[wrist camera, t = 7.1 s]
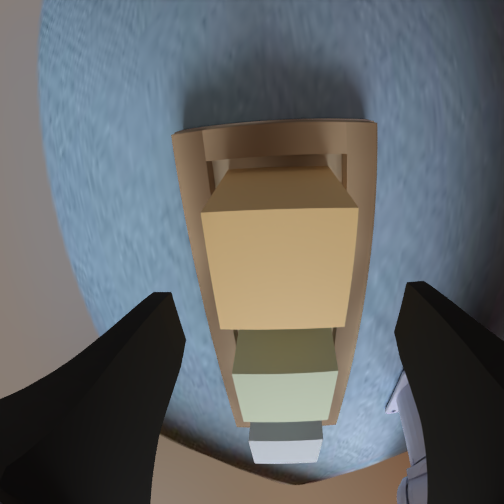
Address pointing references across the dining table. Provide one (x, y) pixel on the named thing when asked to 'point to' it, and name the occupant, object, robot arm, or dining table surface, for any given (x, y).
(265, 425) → the blue-grey block
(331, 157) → the slot board
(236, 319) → the ochre block
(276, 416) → the sage block
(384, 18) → the dining table surface
